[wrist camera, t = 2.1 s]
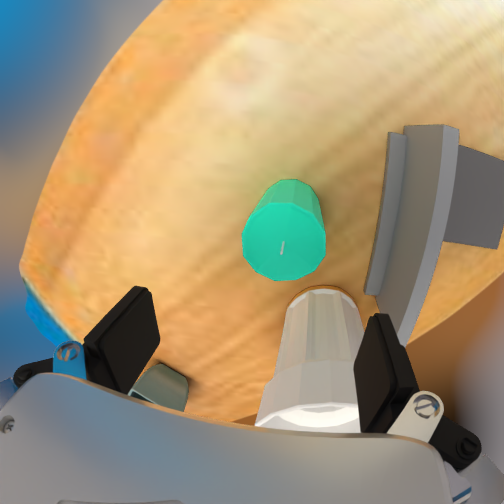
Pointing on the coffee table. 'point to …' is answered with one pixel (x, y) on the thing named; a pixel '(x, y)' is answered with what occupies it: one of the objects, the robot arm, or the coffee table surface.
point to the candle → (285, 232)
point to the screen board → (411, 221)
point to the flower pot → (162, 388)
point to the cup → (315, 365)
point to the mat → (476, 200)
